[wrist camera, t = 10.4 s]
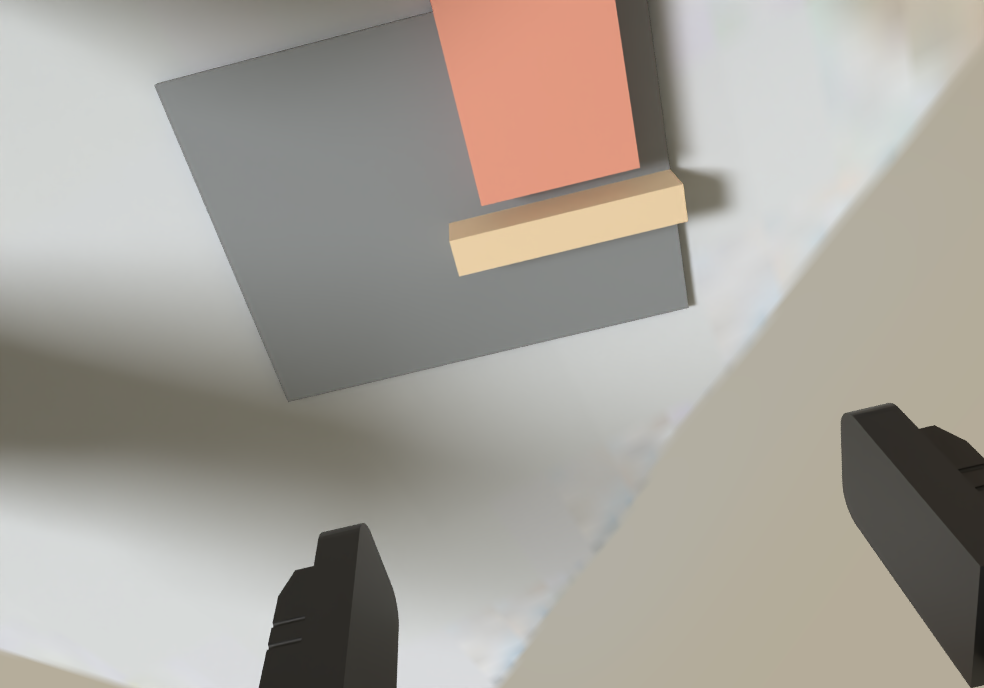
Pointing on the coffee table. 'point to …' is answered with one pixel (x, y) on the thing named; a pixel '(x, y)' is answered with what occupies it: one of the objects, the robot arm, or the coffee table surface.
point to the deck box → (538, 92)
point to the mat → (413, 211)
